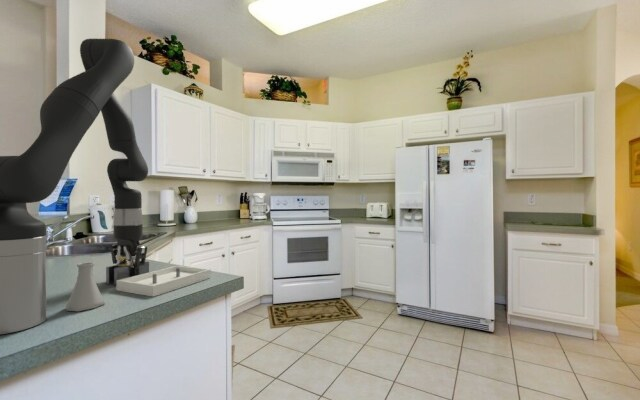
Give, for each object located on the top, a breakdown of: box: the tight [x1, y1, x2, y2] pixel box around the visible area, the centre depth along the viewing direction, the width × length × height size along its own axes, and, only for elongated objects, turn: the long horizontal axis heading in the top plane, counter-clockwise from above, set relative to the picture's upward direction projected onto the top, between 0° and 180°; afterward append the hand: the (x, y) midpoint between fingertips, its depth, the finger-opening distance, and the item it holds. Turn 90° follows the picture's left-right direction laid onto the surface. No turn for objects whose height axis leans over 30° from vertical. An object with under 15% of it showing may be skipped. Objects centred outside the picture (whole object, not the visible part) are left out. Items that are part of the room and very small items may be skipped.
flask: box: [65, 261, 106, 312], centre depth 69 cm, size 7×7×10 cm
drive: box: [105, 260, 150, 286], centre depth 92 cm, size 10×5×5 cm, turn 157°
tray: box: [115, 265, 211, 297], centre depth 88 cm, size 20×14×4 cm
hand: (128, 278), depth 92 cm, fingers closed on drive, 5 cm apart
